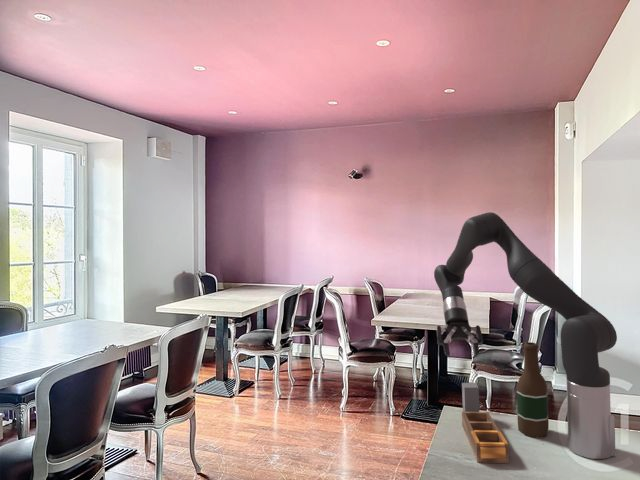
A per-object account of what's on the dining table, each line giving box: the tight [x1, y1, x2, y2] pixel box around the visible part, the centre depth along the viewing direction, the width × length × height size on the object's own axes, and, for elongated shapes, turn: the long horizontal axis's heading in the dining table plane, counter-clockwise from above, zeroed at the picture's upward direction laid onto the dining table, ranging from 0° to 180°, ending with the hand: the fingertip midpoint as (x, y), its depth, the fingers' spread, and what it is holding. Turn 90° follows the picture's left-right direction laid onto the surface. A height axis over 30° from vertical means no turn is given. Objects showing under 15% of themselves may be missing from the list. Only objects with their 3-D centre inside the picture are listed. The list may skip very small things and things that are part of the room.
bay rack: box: [461, 411, 510, 464], centre depth 119 cm, size 7×21×4 cm, turn 173°
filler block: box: [461, 382, 480, 412], centre depth 135 cm, size 4×4×10 cm
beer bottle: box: [516, 341, 549, 438], centre depth 124 cm, size 8×8×24 cm
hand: (462, 355), depth 146 cm, fingers open, 8 cm apart
